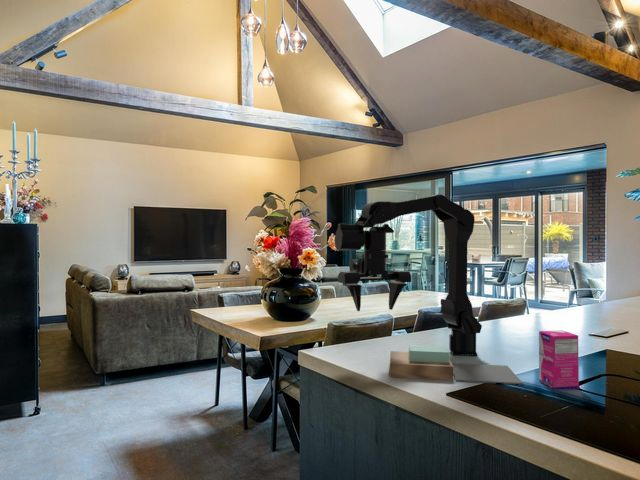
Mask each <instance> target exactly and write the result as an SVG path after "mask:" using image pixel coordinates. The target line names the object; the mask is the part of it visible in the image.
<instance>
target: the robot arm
mask: <svg viewBox="0 0 640 480" xmlns="http://www.w3.org/2000/svg"><path fill="white" fill-rule="evenodd" d="M426 211H427V212H428V211H431V212H433V214H434V215H435V216H436V218H437V219H438V220H439V221H441V222H442V223H443V228H444V229H443V230H444V234H445V236H446V238H447V240H448V243H449V245H448V248H449V249H448V293H447V296H446V298H441V299H440V311H439V314H441V317H442V320H444V322H445V323H446V326H447V328H448V329H450V331H451V332H450V334H449V335H448V337H449V339H448V342H449V343H448V350H449V352H451V354H452V355H453V356H472V357H474V356H477V357H478V353H477V334H480V333H481V332H482V331H481V330H482V328H483V326H482V324H481V323H480V322H479V321H478V320H477V318H476V317H475V316H474V312H473V309H474V308H473V305H472V302H471V300H470V298H469V295H468V248H469V247H468V244H469V240H470V238H471V236H472V234H473V232H474V229H475V228H474V227H475V219H476V218H475V215H474V214H473V213H472V211H471V210H469V209H466V208H464V207H463V206H461V205H460V204H459V203H457V202H454V201H452V200H450V199H449V198H448V197H446V196H445V195H444V194H439V193H438V194H432V195H430V196H426V197H421V198H416V199H410V200H403V201H398V202H397V201H375V202H370V203H366V204H365V205H363V207H362V209H361V213H360V216H359V217H358V219H357V220H356V221H355V222H354V224H348V223H338V224H337V229H336V232H335V236H334V246H335V249H336V250H337V251H360V250H361V248H362V247H363V253H362V254H361V259H360V260H359V259H358V258H351V259H350V260H349V263H348V265H349V266H348V267H349V270H348V271H339V273H338V275H337V282H338V283H341V284H342V285H343V286H345V287H347V289H348V290H349V293H350V294H351V297H352V300H353V303H354V306H355V308H356V312H360V311H361V307H362V306H361V304H362V303H361V302H362V300H361V299H362V298H361V297H362V285H361V284H359V283H360V282H363V281H371V282H372V281H388V282H387V284H388V285H387V286H388V309H389V310H391V311H393V309H394V306H395V305H396V302H397V300H398V298H399V296H400V294H401V292H402V291H403V289H404V287H407V286H408V283H412V274H411V272H410V271H408V270H407V271H406V270H387V259H389V254H387V234H392V233H393V234H394V232H395V231H394V229H393V228H392V227H391V226H390V225H389V224H388V223H387V222H390V221H392V220H395V219H396V218H398V217H401V216H405V215H411V214H417V213H422V212H426ZM382 224H383V225H382ZM376 225H382V226H376ZM367 228H370V229H369V230H365V229H367Z"/></svg>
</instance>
